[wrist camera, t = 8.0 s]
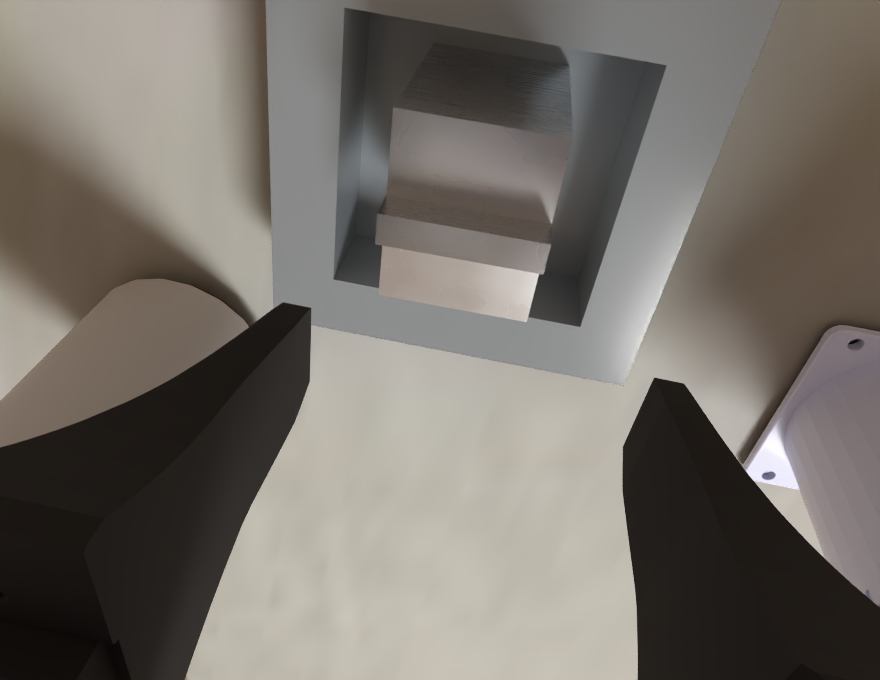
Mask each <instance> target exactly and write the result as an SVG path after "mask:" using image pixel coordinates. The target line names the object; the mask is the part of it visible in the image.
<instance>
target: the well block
mask: <svg viewBox="0 0 880 680" xmlns="http://www.w3.org/2000/svg"><path fill="white" fill-rule="evenodd" d="M781 1H782V0H266V38H267V76H268V113H269V151H270V189H271V226H272V264H273V301H274V308H275V307H277V306H278V305H279V304H281V303H283V302H285V303H290V304H295V305H300V306H304V307H309V308H311V325H314V326H319V327H324V328H329V329H334V330H340V331H345V332H350V333H355V334H360V335H365V336H370V337H375V338H380V339H386V340H391V341H396V342H401V343H406V344H411V345H416V346H421V347H426V348H432V349H437V350H442V351H447V352H452V353H457V354H462V355H467V356H472V357H478V358H483V359H488V360H493V361H498V362H503V363H508V364H513V365H518V366H524V367H529V368H534V369H539V370H544V371H549V372H554V373H559V374H564V375H570V376H575V377H580V378H585V379H590V380H595V381H600V382H605V383H610V384H616V385H621V386H624V384H625V382H626V379H627V377H628V374H629V372H630V370H631V367H632V365H633V362H634V360H635V357H636V355H637V352H638V350H639V348H640V345H641V343H642V340H643V338H644V335H645V333H646V330H647V328H648V326H649V323H650V321H651V318H652V316H653V313H654V311H655V309H656V306H657V304H658V301H659V299H660V296H661V294H662V291H663V289H664V287H665V284H666V282H667V279H668V277H669V274H670V272H671V269H672V267H673V265H674V262H675V260H676V257H677V255H678V252H679V250H680V247H681V245H682V243H683V240H684V238H685V235H686V233H687V230H688V228H689V225H690V223H691V221H692V218H693V216H694V213H695V211H696V208H697V206H698V204H699V201H700V199H701V196H702V194H703V191H704V189H705V186H706V184H707V182H708V179H709V177H710V174H711V172H712V169H713V167H714V164H715V162H716V160H717V157H718V155H719V152H720V150H721V147H722V145H723V142H724V140H725V138H726V135H727V133H728V130H729V128H730V125H731V123H732V121H733V118H734V116H735V113H736V111H737V108H738V106H739V103H740V101H741V99H742V96H743V94H744V91H745V89H746V86H747V84H748V81H749V79H750V77H751V74H752V72H753V69H754V67H755V64H756V62H757V59H758V57H759V55H760V52H761V50H762V47H763V45H764V42H765V40H766V38H767V35H768V33H769V30H770V28H771V25H772V23H773V20H774V18H775V16H776V13H777V11H778V8H779V6H780V3H781ZM433 43H439V44H445V45H451V46H457V47H463V48H469V49H475V50H481V51H487V52H493V53H499V54H505V55H511V56H517V57H523V58H529V59H534V60H540V61H546V62H552V63H558V64H564V65H570V85H571V105H572V124H573V141H572V145H571V149H570V153H569V157H568V161H567V165H566V169H565V173H564V177H563V181H562V185H561V189H560V193H559V197H558V201H557V205H556V209H555V213H554V217H553V221H552V226H551V247H550V251H549V255H548V259H547V263H546V267H545V271H544V274H543V275H542V274H539V276H538V280H537V284H536V288H535V292H534V296H533V300H532V304H531V308H530V312H529V316H528V320H527V322H523V321H518V320H512V319H507V318H501V317H496V316H490V315H485V314H480V313H474V312H469V311H463V310H458V309H452V308H447V307H442V306H436V305H431V304H425V303H420V302H414V301H409V300H404V299H398V298H393V297H387V296H382V295H379V282H380V269H381V256H382V245H377V244H375V238H376V224H377V213H378V211H379V209H380V207H381V205H382V203H383V201H384V199H385V197H386V193H387V180H388V167H389V154H390V142H391V129H392V116H393V107H394V105H395V104H396V102H397V101H398V99H399V97H400V96H401V94H402V93H403V91H404V89H405V88H406V86H407V85H408V83H409V81H410V80H411V78H412V77H413V75H414V74H415V72H416V70H417V69H418V67H419V66H420V64H421V62H422V61H423V59H424V58H425V56H426V54H427V53H428V51H429V50H430V48H431V46H432V45H433Z"/></svg>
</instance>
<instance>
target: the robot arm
mask: <svg viewBox="0 0 880 680" xmlns="http://www.w3.org/2000/svg"><path fill="white" fill-rule="evenodd" d="M854 339H860V340H859V341H858V342H856V343H854V344H848V343H849V342H850V341H852V340H854ZM310 344H311V308H309V307H304V306H300V305H295V304H290V303H285V302H283V303H281V304H279V305H278V306H277V307H275V308H274V309H272V310H271V311H270V312H268V313H267V314H266V315H264V316H263V317H262V318H260V319H259V320H258V321H256V322H255V323H254V324H252V325H251V326H250V327H248V328H247V329H246V330H244V331H243V332H242V333H240V334H239V335H238V336H236V337H235V338H233V339H232V340H230V341H229V342H228V343H226V344H225V345H223V346H222V347H221V348H219V349H218V350H216V351H215V352H213V353H212V354H210V355H209V356H207V357H206V358H204V359H203V360H201V361H200V362H198V363H196V364H195V365H193V366H192V367H190V368H188V369H187V370H185V371H184V372H182V373H180V374H179V375H177V376H175V377H174V378H172V379H170V380H168V381H167V382H165V383H163V384H161V385H159V386H158V387H156V388H154V389H152V390H150V391H148V392H146V393H144V394H142V395H140V396H138V397H136V398H134V399H132V400H129V401H127V402H125V403H123V404H120V405H118V406H116V407H113V408H111V409H109V410H106V411H104V412H102V413H99V414H97V415H94V416H92V417H90V418H87V419H85V420H82V421H80V422H77V423H75V424H72V425H69V426H66V427H63V428H61V429H58V430H55V431H52V432H49V433H46V434H43V435H40V436H37V437H34V438H31V439H28V440H24V441H21V442H18V443H14V444H11V445H7V446H3V447H0V680H185V677H186V674H187V671H188V668H189V665H190V662H191V659H192V656H193V653H194V651H195V648H196V645H197V642H198V639H199V637H200V634H201V631H202V628H203V625H204V623H205V620H206V617H207V614H208V611H209V609H210V606H211V603H212V601H213V598H214V595H215V593H216V590H217V587H218V585H219V582H220V579H221V577H222V574H223V571H224V569H225V566H226V564H227V561H228V559H229V556H230V554H231V551H232V549H233V546H234V543H235V541H236V538H237V536H238V533H239V531H240V528H241V526H242V523H243V521H244V519H245V517H246V515H247V513H248V511H249V509H250V506H251V504H252V503H253V501H254V499H255V497H256V495H257V493H258V491H259V489H260V487H261V485H262V484H263V482H264V480H265V478H266V476H267V474H268V472H269V470H270V468H271V466H272V465H273V463H274V461H275V459H276V457H277V455H278V453H279V451H280V449H281V447H282V446H283V444H284V442H285V440H286V438H287V436H288V434H289V432H290V430H291V428H292V426H293V424H294V422H295V420H296V417H297V415H298V412H299V409H300V407H301V404H302V401H303V398H304V396H305V393H306V390H307V387H308V384H309V382H310ZM768 471H771V472H768ZM765 472H768V473H765ZM754 481H758V482H763V483H768V484H773V485H778V486H783V487H788V488H793V489H798V490H800V492H801V494H802V497H803V500H804V503H805V505H806V508H807V511H808V513H809V516H810V519H811V521H812V524H813V527H814V529H815V532H816V535H817V537H818V540H819V543H820V545H821V548H822V551H823V553H824V556H825V558H824V557H822V556H821V555H820V554H819V553H818V552H817V551H816V550H815V549H814V548H813V547H812V546H811V545H810V544H809V543H808V542H807V541H806V540H805V539H804V538H803V536H802V535H801V534H800V533H799V532H798V531H797V530H796V529H795V528H794V527H793V526H792V525H791V524H790V523H789V522H788V521H787V520H786V519H785V517H784V516H783V515H782V514H781V513H780V512H779V511H778V510H777V508H776V507H775V506H774V505H773V504H772V503H771V502H770V500H769V499H768V498H767V497H766V495H765V494H764V493H763V492H762V491H761V489H760V488H759V487H758V486H757V485H756V483H755V482H754ZM623 497H624V506H625V514H626V522H627V530H628V537H629V545H630V552H631V560H632V567H633V575H634V583H635V592H636V604H637V635H638V680H880V332H879V331H874V330H868V329H863V328H858V327H853V326H847V325H837V326H834V327H832V328H830V329H828V330H827V331H826V332H825V333H824V335H823V337H822V338H821V340H820V341H819V343H818V345H817V346H816V348H815V349H814V351H813V353H812V354H811V356H810V357H809V359H808V361H807V362H806V364H805V366H804V367H803V369H802V370H801V372H800V374H799V375H798V377H797V378H796V380H795V382H794V383H793V385H792V386H791V388H790V390H789V391H788V393H787V395H786V396H785V398H784V399H783V401H782V403H781V404H780V406H779V407H778V409H777V411H776V412H775V414H774V416H773V417H772V419H771V420H770V422H769V424H768V425H767V427H766V428H765V430H764V432H763V433H762V435H761V436H760V438H759V440H758V441H757V443H756V445H755V446H754V448H753V449H752V451H751V453H750V454H749V456H748V457H747V459H746V461H745V462H744V464H743V466H742V465H741V464H740V463H739V462H738V460H737V459H736V457H735V456H734V455H733V453H732V452H731V451H730V449H729V448H728V447H727V445H726V444H725V442H724V441H723V440H722V438H721V437H720V435H719V434H718V432H717V431H716V430H715V428H714V427H713V425H712V424H711V422H710V421H709V419H708V418H707V416H706V415H705V413H704V412H703V411H702V409H701V408H700V406H699V405H698V403H697V402H696V400H695V399H694V397H693V396H692V394H691V393H690V392H689V390H688V389H687V387H686V386H685V385H684V384H683V383H678V382H673V381H668V380H663V379H658V378H654V379H653V382H652V384H651V386H650V388H649V390H648V393H647V395H646V397H645V399H644V401H643V404H642V406H641V408H640V410H639V413H638V415H637V417H636V419H635V421H634V424H633V426H632V428H631V430H630V432H629V435H628V437H627V439H626V441H625V444H624V446H623Z"/></svg>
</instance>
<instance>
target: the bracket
mask: <svg viewBox="0 0 880 680" xmlns="http://www.w3.org/2000/svg"><path fill="white" fill-rule="evenodd" d="M572 141H573V124H572V105H571V85H570V65H564V64H558V63H552V62H546V61H540V60H534V59H529V58H523V57H517V56H511V55H505V54H499V53H493V52H487V51H481V50H475V49H469V48H463V47H457V46H451V45H445V44H439V43H433V45H432V46H431V48H430V50H429V51H428V53H427V54H426V56H425V58H424V59H423V61H422V62H421V64H420V66H419V67H418V69H417V70H416V72H415V74H414V75H413V77H412V78H411V80H410V81H409V83H408V85H407V86H406V88H405V89H404V91H403V93H402V94H401V96H400V97H399V99H398V101H397V102H396V104H395V105H394V107H393V116H392V129H391V142H390V154H389V167H388V180H387V193H386V197H385V199H384V201H383V203H382V205H381V207H380V209H379V211H378V213H377V224H376V238H375V244H377V245H382V256H381V269H380V282H379V295H382V296H387V297H393V298H398V299H404V300H409V301H414V302H420V303H425V304H431V305H436V306H442V307H447V308H452V309H458V310H463V311H469V312H474V313H480V314H485V315H490V316H496V317H501V318H507V319H512V320H518V321H523V322H527V320H528V316H529V312H530V308H531V304H532V300H533V296H534V292H535V288H536V284H537V280H538V276H539V274H542V275H543V274H544V271H545V267H546V263H547V259H548V255H549V251H550V247H551V226H552V221H553V217H554V213H555V209H556V205H557V201H558V197H559V193H560V189H561V185H562V181H563V177H564V173H565V169H566V165H567V161H568V157H569V153H570V149H571V145H572Z"/></svg>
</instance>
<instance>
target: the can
mask: <svg viewBox="0 0 880 680" xmlns="http://www.w3.org/2000/svg"><path fill="white" fill-rule="evenodd" d="M248 327H249V326H248V325H247V323H246V322H245V321H244V319H242V318H241V317H240V316H239V315H238V314H237V313H235V312H234V311H233V310H232V309H231V308H229V307H228V306H227V305H226V304H225V303H223V302H222V301H221V300H219V299H217V298H215V297H213V296H211V295H209V294H207V293H205V292H203V291H201V290H200V289H197V288H195V287H193V286H191V285H187V284H183V283H179V282H174V281H170V280H166V279H137V280H133V281H130V282H128V283H125V284H123V285H120V286H118V287H116V288H113V289H112V290H111V291H110V292H109V293H108V294H107V295H106V296H105V297H104V298H103V299H102V300H101V301H100V302H99V303H98V304H97V305H96V306H95V307H94V308H93V309H92V310H91V311H90V312H89V313H88V314H87V315H86V316H85V317H84V318H83V319H82V320H81V321H80V322H79V323H78V324H77V325H76V326H75V327H74V328H73V329H72V330H71V331H70V332H69V333H68V334H67V335H66V336H65V337H64V338H63V339H62V340H61V341H60V342H59V343H58V344H57V345H56V346H55V347H54V348H53V349H52V350H51V351H50V352H49V353H48V354H47V355H46V356H45V357H44V358H43V359H42V360H41V361H40V362H39V363H38V364H37V365H36V366H35V367H34V368H33V369H32V370H31V371H30V372H29V373H28V374H27V375H26V376H25V377H24V378H23V379H22V380H21V381H20V382H19V383H18V384H17V385H16V386H15V387H14V388H13V389H12V390H11V391H10V392H9V393H8V394H7V395H6V396H5V397H4V398H3V399H2V400H1V401H0V447H3V446H7V445H11V444H14V443H18V442H21V441H24V440H28V439H31V438H34V437H37V436H40V435H43V434H46V433H49V432H52V431H55V430H58V429H61V428H63V427H66V426H69V425H72V424H75V423H77V422H80V421H82V420H85V419H87V418H90V417H92V416H94V415H97V414H99V413H102V412H104V411H106V410H109V409H111V408H113V407H116V406H118V405H120V404H123V403H125V402H127V401H129V400H132V399H134V398H136V397H138V396H140V395H142V394H144V393H146V392H148V391H150V390H152V389H154V388H156V387H158V386H159V385H161V384H163V383H165V382H167V381H168V380H170V379H172V378H174V377H175V376H177V375H179V374H180V373H182V372H184V371H185V370H187V369H188V368H190V367H192V366H193V365H195V364H196V363H198V362H200V361H201V360H203V359H204V358H206V357H207V356H209V355H210V354H212V353H213V352H215V351H216V350H218V349H219V348H221V347H222V346H223V345H225V344H226V343H228V342H229V341H230V340H232V339H233V338H235V337H236V336H238V335H239V334H240V333H242V332H243V331H244V330H246V329H247V328H248Z"/></svg>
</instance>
